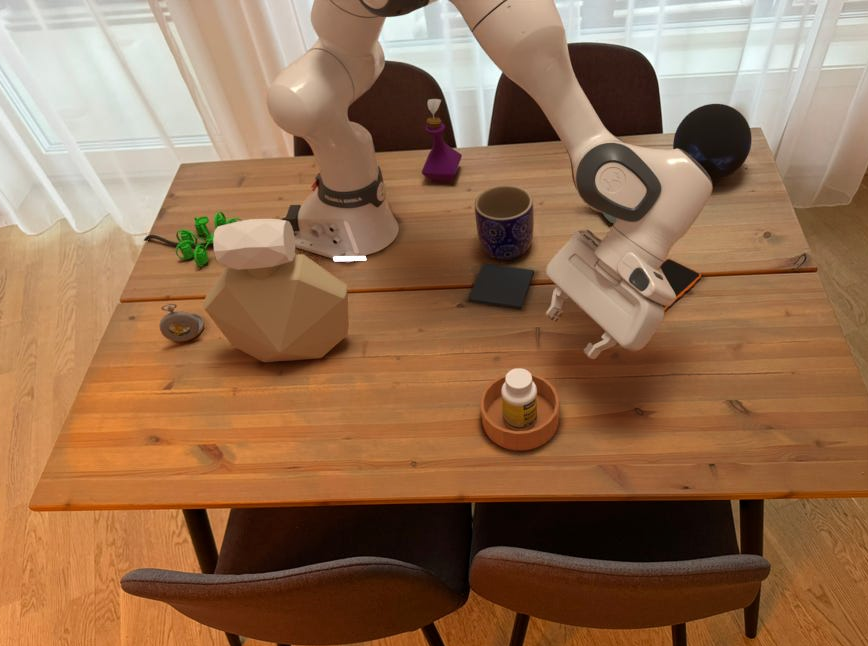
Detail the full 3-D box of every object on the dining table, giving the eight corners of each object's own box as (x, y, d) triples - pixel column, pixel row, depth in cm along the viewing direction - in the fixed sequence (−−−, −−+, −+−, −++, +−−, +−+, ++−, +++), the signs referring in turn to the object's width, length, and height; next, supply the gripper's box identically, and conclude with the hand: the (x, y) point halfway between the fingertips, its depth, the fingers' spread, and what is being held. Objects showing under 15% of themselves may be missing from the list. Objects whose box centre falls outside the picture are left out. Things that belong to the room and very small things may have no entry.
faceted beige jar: (235, 329, 138) (178, 206, 117) (363, 319, 137) (329, 192, 116) (222, 379, 130) (158, 256, 109) (358, 369, 128) (321, 242, 108)
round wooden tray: (473, 442, 116) (471, 425, 113) (494, 384, 123) (492, 366, 120) (549, 457, 113) (549, 440, 110) (565, 397, 120) (566, 379, 117)
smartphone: (612, 308, 132) (612, 305, 132) (667, 260, 139) (667, 257, 139) (647, 328, 128) (647, 324, 128) (702, 277, 136) (703, 274, 135)
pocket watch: (204, 313, 142) (184, 273, 134) (206, 339, 137) (186, 300, 129) (168, 322, 141) (147, 283, 133) (170, 350, 136) (147, 310, 128)
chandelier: (194, 281, 148) (181, 254, 143) (167, 245, 157) (154, 218, 152) (262, 248, 153) (251, 221, 148) (232, 214, 162) (221, 188, 157)
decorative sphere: (669, 153, 162) (677, 89, 151) (741, 154, 160) (755, 89, 149) (669, 195, 153) (678, 129, 142) (746, 197, 150) (761, 130, 139)
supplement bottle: (527, 436, 115) (525, 397, 108) (497, 423, 118) (493, 383, 110) (543, 412, 118) (542, 371, 111) (513, 399, 120) (511, 359, 113)
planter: (536, 264, 142) (535, 217, 134) (479, 268, 143) (474, 222, 135) (532, 228, 150) (531, 181, 141) (478, 232, 150) (473, 186, 142)
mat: (468, 301, 137) (467, 298, 137) (483, 266, 143) (483, 263, 143) (521, 309, 135) (520, 306, 134) (534, 273, 141) (534, 270, 140)
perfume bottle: (456, 187, 161) (447, 111, 148) (423, 185, 163) (411, 110, 149) (463, 167, 166) (455, 92, 153) (431, 165, 168) (420, 91, 154)
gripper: (570, 217, 110) (517, 292, 115) (662, 294, 98) (599, 375, 102) (593, 229, 115) (541, 301, 119) (684, 304, 102) (623, 381, 107)
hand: (569, 336), depth 111 cm, fingers open, 8 cm apart
